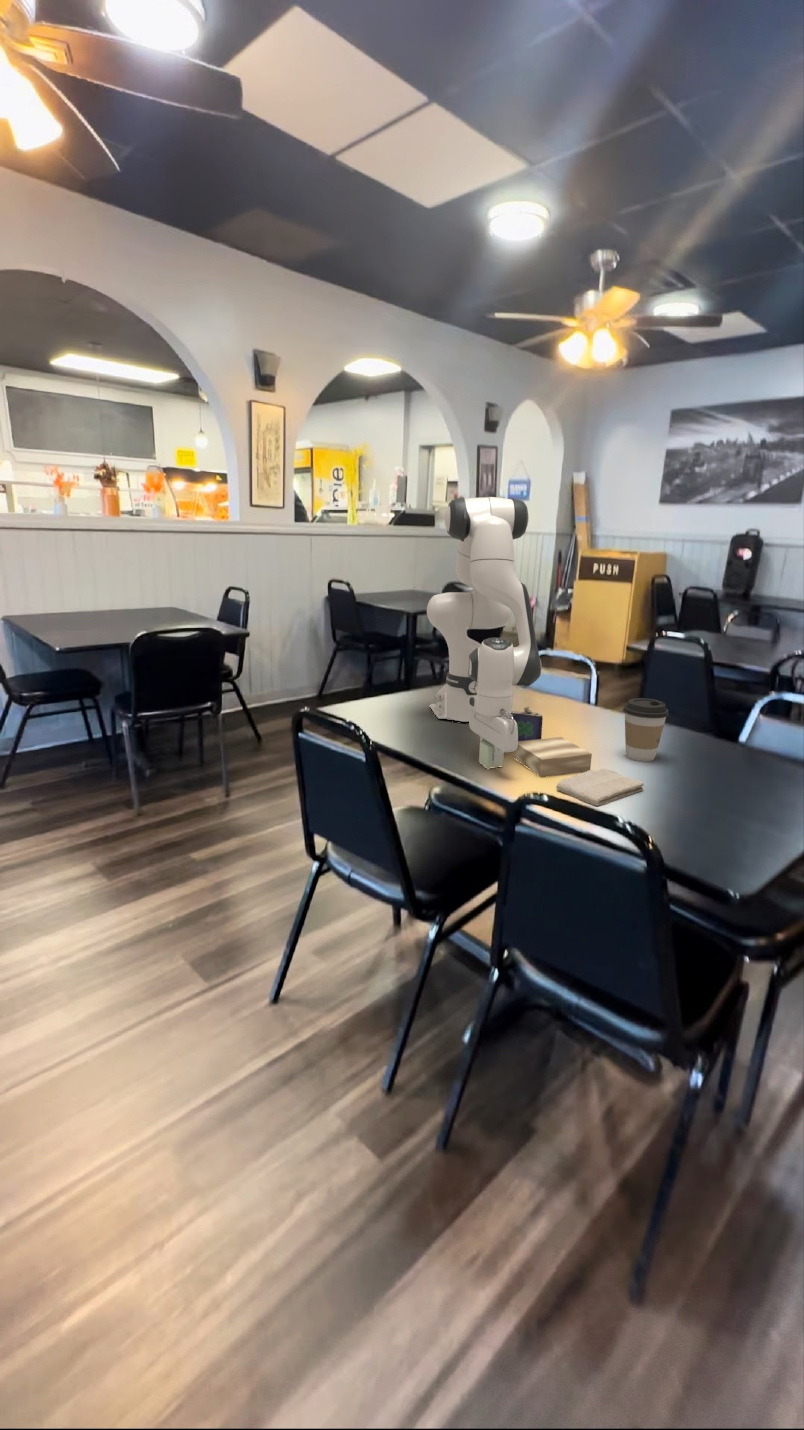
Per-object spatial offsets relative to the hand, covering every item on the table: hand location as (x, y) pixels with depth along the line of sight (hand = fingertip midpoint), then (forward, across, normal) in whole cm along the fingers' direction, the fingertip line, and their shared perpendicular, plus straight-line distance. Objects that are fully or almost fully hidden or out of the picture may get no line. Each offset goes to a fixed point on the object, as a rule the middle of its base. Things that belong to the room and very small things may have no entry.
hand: (491, 757), depth 169 cm
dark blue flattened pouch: (+2, +13, -17) cm, 22 cm away
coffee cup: (+2, -6, -41) cm, 42 cm away
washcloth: (+3, -22, -17) cm, 28 cm away
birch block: (+2, -4, -15) cm, 16 cm away
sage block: (+2, 0, 0) cm, 2 cm away
